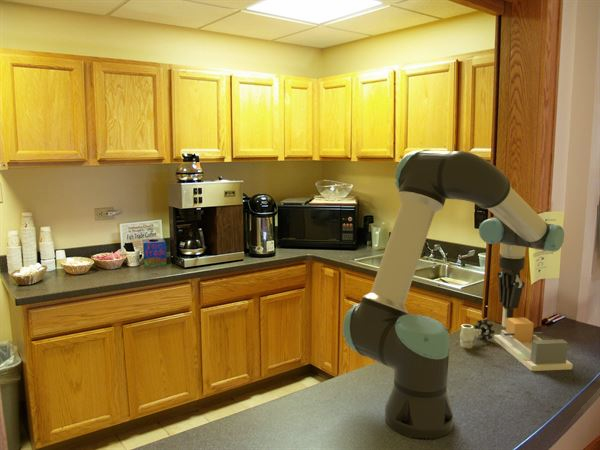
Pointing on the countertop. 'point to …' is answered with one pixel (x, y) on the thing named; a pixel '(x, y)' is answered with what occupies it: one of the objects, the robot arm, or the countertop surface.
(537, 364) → the cream and grey fixture
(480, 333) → the valve
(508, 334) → the orange block
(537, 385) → the countertop surface
